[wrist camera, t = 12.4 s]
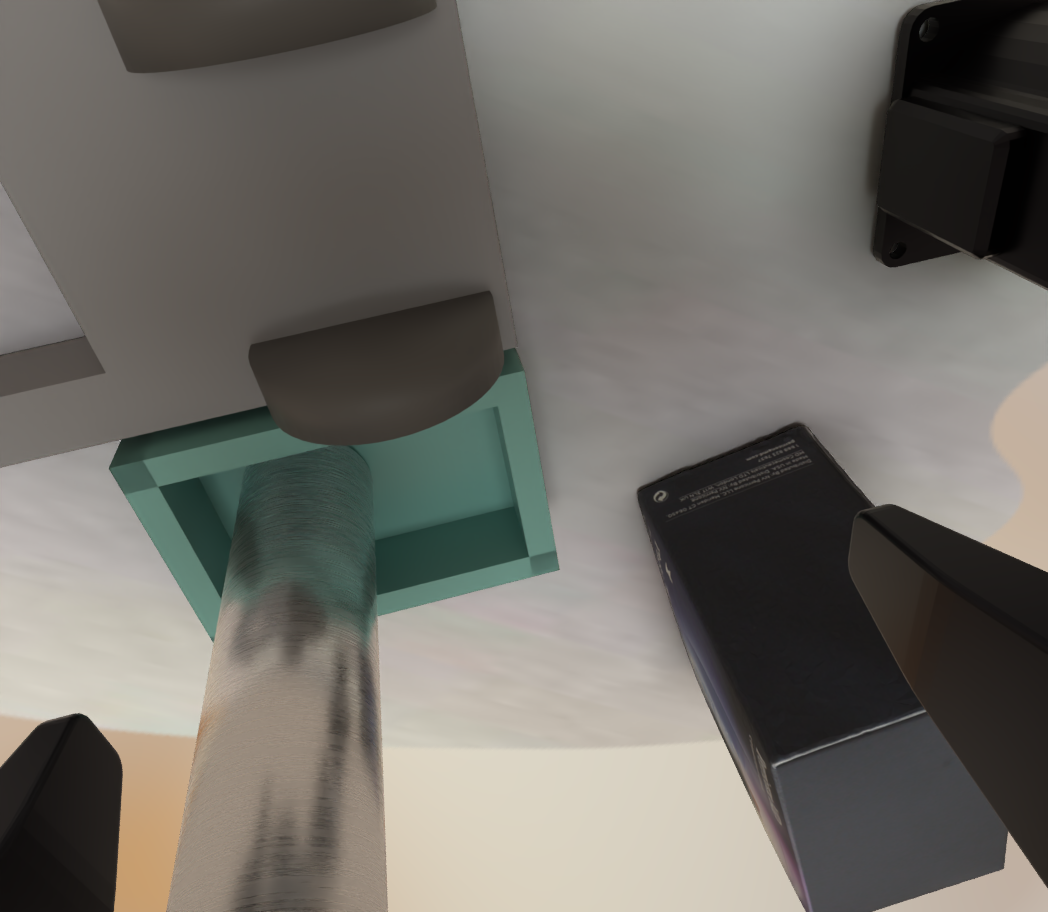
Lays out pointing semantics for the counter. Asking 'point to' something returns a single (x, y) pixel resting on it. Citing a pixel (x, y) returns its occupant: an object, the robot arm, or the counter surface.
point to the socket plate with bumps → (249, 218)
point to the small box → (813, 681)
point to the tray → (398, 495)
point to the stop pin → (291, 704)
